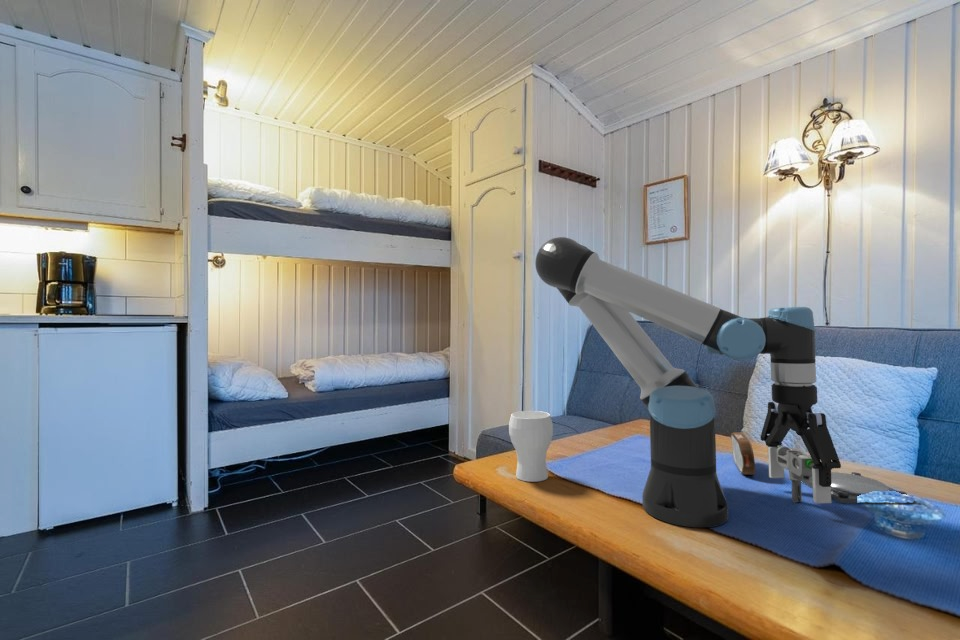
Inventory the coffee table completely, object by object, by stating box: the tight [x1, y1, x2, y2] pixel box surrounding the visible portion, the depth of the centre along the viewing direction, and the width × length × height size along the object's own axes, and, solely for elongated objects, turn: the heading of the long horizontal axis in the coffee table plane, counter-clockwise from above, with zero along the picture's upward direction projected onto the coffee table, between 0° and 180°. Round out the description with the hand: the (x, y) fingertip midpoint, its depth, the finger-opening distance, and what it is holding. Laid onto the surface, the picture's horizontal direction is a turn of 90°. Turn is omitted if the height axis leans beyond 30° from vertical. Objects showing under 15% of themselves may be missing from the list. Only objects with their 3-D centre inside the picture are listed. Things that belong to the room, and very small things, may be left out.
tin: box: [730, 431, 756, 476], centre depth 109 cm, size 15×3×8 cm, turn 159°
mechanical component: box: [777, 445, 815, 504], centre depth 90 cm, size 3×10×10 cm, turn 174°
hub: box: [801, 471, 908, 504], centre depth 95 cm, size 14×14×2 cm
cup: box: [508, 410, 554, 483], centre depth 108 cm, size 11×11×15 cm
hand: (797, 489), depth 89 cm, fingers open, 13 cm apart
